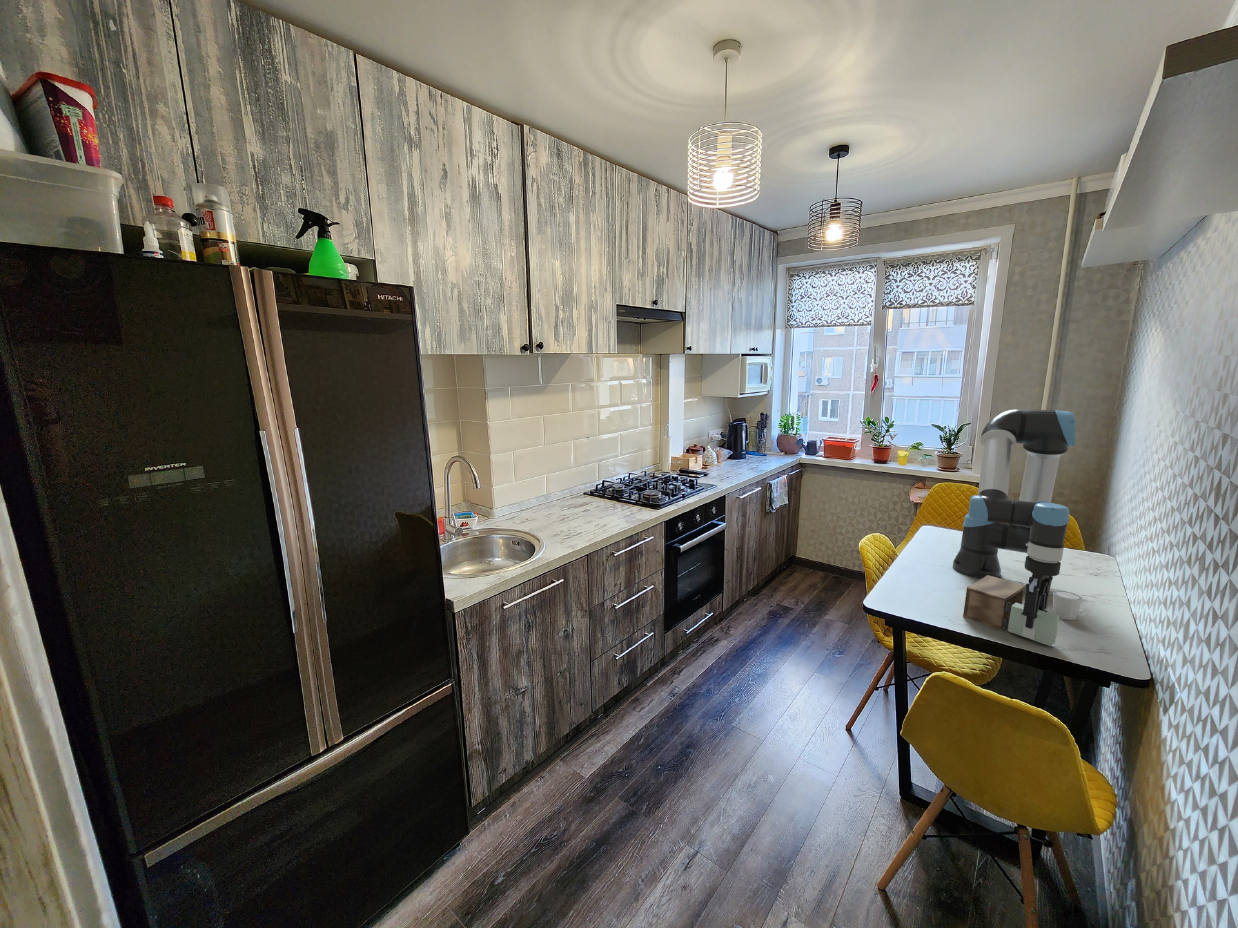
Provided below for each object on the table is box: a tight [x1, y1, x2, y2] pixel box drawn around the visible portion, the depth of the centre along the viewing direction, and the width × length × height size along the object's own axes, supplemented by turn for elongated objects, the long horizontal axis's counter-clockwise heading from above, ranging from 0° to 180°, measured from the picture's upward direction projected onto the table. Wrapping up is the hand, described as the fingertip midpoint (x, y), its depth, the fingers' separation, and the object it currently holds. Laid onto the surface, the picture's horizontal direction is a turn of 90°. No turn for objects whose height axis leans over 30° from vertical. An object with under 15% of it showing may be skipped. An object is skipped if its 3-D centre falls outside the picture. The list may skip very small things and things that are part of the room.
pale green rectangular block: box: [1007, 603, 1060, 647], centre depth 143 cm, size 4×10×8 cm, turn 35°
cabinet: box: [962, 575, 1026, 631], centre depth 156 cm, size 11×16×10 cm
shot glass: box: [1051, 590, 1083, 621], centre depth 157 cm, size 7×7×7 cm
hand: (1030, 635), depth 143 cm, fingers closed on pale green rectangular block, 3 cm apart
